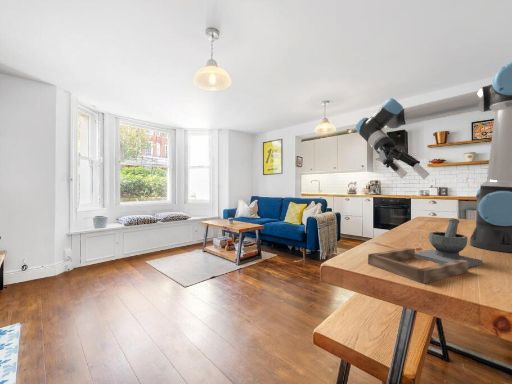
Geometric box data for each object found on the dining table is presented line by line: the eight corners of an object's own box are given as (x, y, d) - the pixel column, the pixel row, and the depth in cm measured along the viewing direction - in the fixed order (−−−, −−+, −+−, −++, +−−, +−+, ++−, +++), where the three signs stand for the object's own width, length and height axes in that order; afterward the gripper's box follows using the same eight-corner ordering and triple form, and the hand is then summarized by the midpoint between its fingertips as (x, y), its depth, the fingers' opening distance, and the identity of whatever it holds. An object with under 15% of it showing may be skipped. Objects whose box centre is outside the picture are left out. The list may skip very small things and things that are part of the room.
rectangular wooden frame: (410, 256, 81) (410, 247, 81) (467, 271, 67) (468, 261, 67) (368, 263, 73) (368, 254, 73) (423, 283, 58) (424, 271, 58)
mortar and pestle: (458, 261, 72) (459, 222, 72) (423, 254, 80) (424, 218, 80) (472, 256, 78) (473, 219, 78) (438, 249, 86) (439, 216, 86)
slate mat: (432, 252, 87) (433, 249, 87) (482, 263, 74) (482, 260, 74) (411, 255, 82) (412, 253, 82) (461, 269, 69) (461, 265, 69)
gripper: (394, 151, 113) (427, 183, 100) (355, 147, 102) (387, 182, 89) (405, 138, 108) (442, 169, 95) (366, 132, 97) (401, 167, 84)
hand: (415, 176), depth 92 cm, fingers open, 13 cm apart
